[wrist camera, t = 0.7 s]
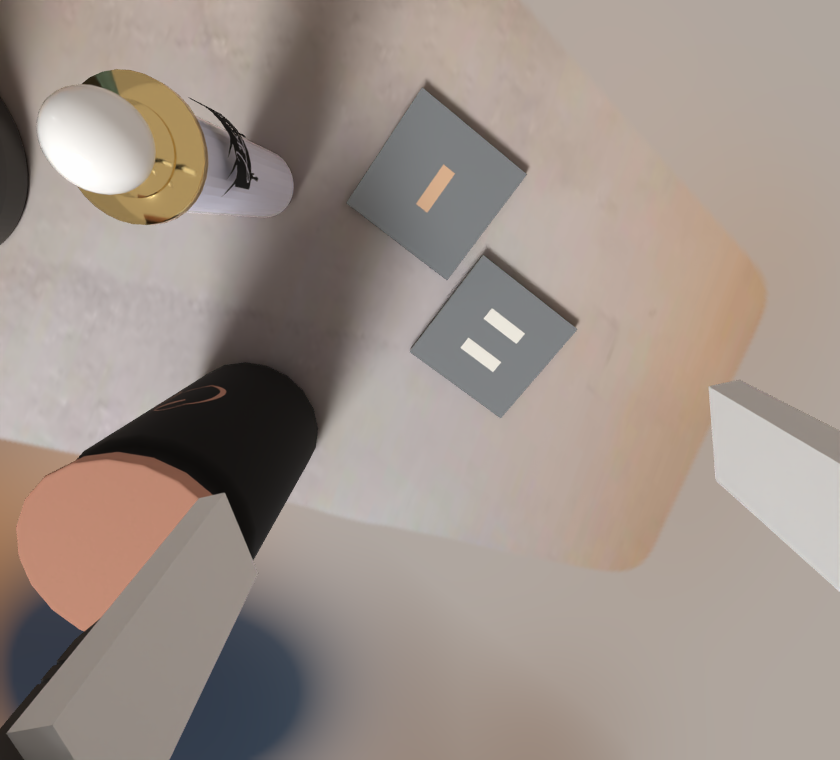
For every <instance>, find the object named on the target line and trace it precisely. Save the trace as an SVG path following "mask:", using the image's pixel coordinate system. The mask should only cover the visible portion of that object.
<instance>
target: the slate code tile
mask: <svg viewBox="0 0 840 760" xmlns="http://www.w3.org/2000/svg"><path fill="white" fill-rule="evenodd" d="M576 330H577V329H576V328H575V327H574V326H573V325H571V324H570V323H569V322H568V321H566V320H565V319H564V318H562V317H561V316H560V315H559V314H557V313H556V312H555V311H554V310H552V309H551V308H550V307H549V306H547V305H546V304H545V303H543V302H542V301H541V300H540V299H538V298H537V297H536V296H535V295H533V294H532V293H531V292H529V291H528V290H527V289H526V288H524V287H523V286H522V285H521V284H519V283H518V282H517V281H516V280H514V279H513V278H512V277H510V276H509V275H508V274H507V273H505V272H504V271H503V270H502V269H500V268H499V267H498V266H496V265H495V264H494V263H493V262H491V261H490V260H489V259H488V258H486V257H485V256H484V255H482V256H481V258H480V259H479V260H478V262H477V263H476V264H475V266H474V267H473V268H472V269H471V271H470V272H469V273H468V275H467V276H466V277H465V279H464V280H463V281H462V283H461V284H460V285H459V287H458V288H457V289H456V290H455V292H454V293H453V294H452V296H451V297H450V298H449V300H448V301H447V302H446V304H445V305H444V306H443V308H442V309H441V310H440V311H439V313H438V314H437V315H436V317H435V318H434V319H433V321H432V322H431V323H430V325H429V326H428V327H427V328H426V330H425V331H424V332H423V334H422V335H421V336H420V338H419V339H418V340H417V342H416V343H415V344H414V346H413V347H412V348H411V349H410V352H411V353H412V354H413V355H415V356H416V357H418V358H419V359H420V360H422V361H423V362H424V363H426V364H427V365H428V366H430V367H431V368H433V369H434V370H435V371H437V372H438V373H439V374H441V375H442V376H444V377H445V378H446V379H448V380H449V381H450V382H452V383H453V384H454V385H456V386H457V387H459V388H460V389H461V390H463V391H464V392H465V393H467V394H468V395H469V396H471V397H472V398H474V399H475V400H476V401H478V402H479V403H480V404H482V405H483V406H485V407H486V408H487V409H489V410H490V411H491V412H493V413H494V414H495V415H497V416H498V417H500V418H501V417H502V416H503V415H504V414H505V413H506V412H507V411H508V409H509V408H510V407H511V406H512V405H513V404H514V402H515V401H516V400H517V399H518V398H519V397H520V395H521V394H522V393H523V392H524V391H525V390H526V388H527V387H528V386H529V385H530V384H531V383H532V381H533V380H534V379H535V378H536V377H537V376H538V375H539V373H540V372H541V371H542V370H543V369H544V368H545V366H546V365H547V364H548V363H549V362H550V361H551V359H552V358H553V357H554V356H555V355H556V354H557V352H558V351H559V350H560V349H561V348H562V347H563V345H564V344H565V343H566V342H567V341H568V340H569V338H570V337H571V336H572V335H573V334H574V333H575V332H576Z"/></svg>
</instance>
